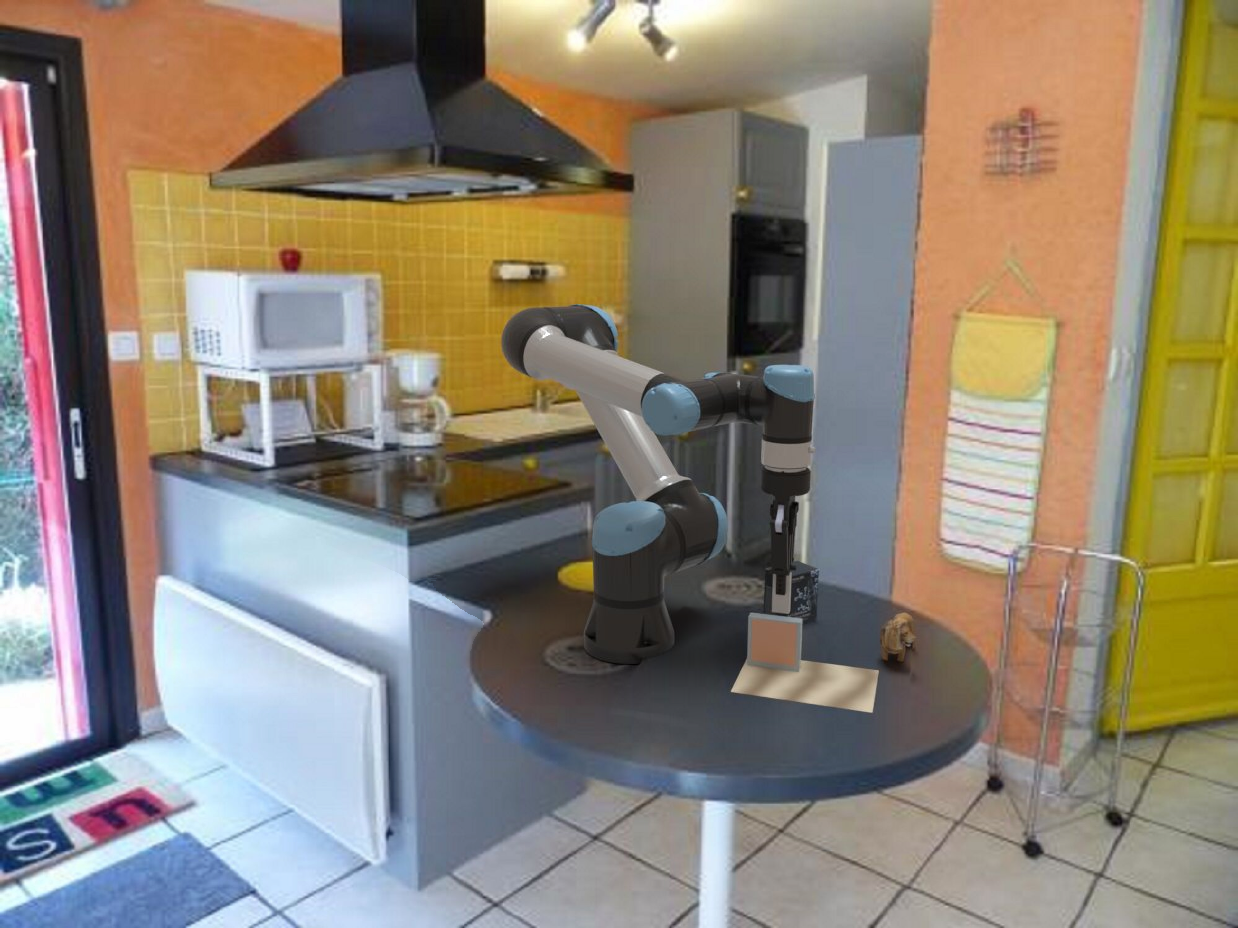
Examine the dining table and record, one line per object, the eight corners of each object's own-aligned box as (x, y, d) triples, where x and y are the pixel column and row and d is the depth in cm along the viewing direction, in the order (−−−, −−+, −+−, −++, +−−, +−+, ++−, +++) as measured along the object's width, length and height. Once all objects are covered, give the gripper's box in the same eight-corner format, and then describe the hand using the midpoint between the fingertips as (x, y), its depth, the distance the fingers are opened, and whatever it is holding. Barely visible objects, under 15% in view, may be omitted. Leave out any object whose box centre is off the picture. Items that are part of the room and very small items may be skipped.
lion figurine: (912, 681, 137) (916, 625, 136) (876, 675, 139) (879, 621, 137) (916, 643, 151) (920, 592, 149) (883, 639, 153) (886, 588, 151)
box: (784, 635, 154) (786, 576, 152) (762, 624, 159) (763, 567, 157) (817, 625, 159) (820, 568, 156) (794, 615, 163) (796, 559, 161)
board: (730, 697, 132) (730, 691, 132) (749, 658, 145) (749, 653, 145) (872, 719, 126) (872, 712, 126) (878, 676, 139) (878, 670, 139)
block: (747, 665, 141) (748, 616, 139) (749, 660, 143) (750, 612, 141) (798, 672, 138) (800, 623, 137) (800, 667, 140) (802, 618, 138)
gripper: (805, 477, 132) (799, 629, 137) (815, 459, 144) (809, 599, 149) (754, 474, 134) (750, 623, 139) (768, 456, 146) (764, 594, 151)
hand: (781, 611), depth 144 cm, fingers closed
